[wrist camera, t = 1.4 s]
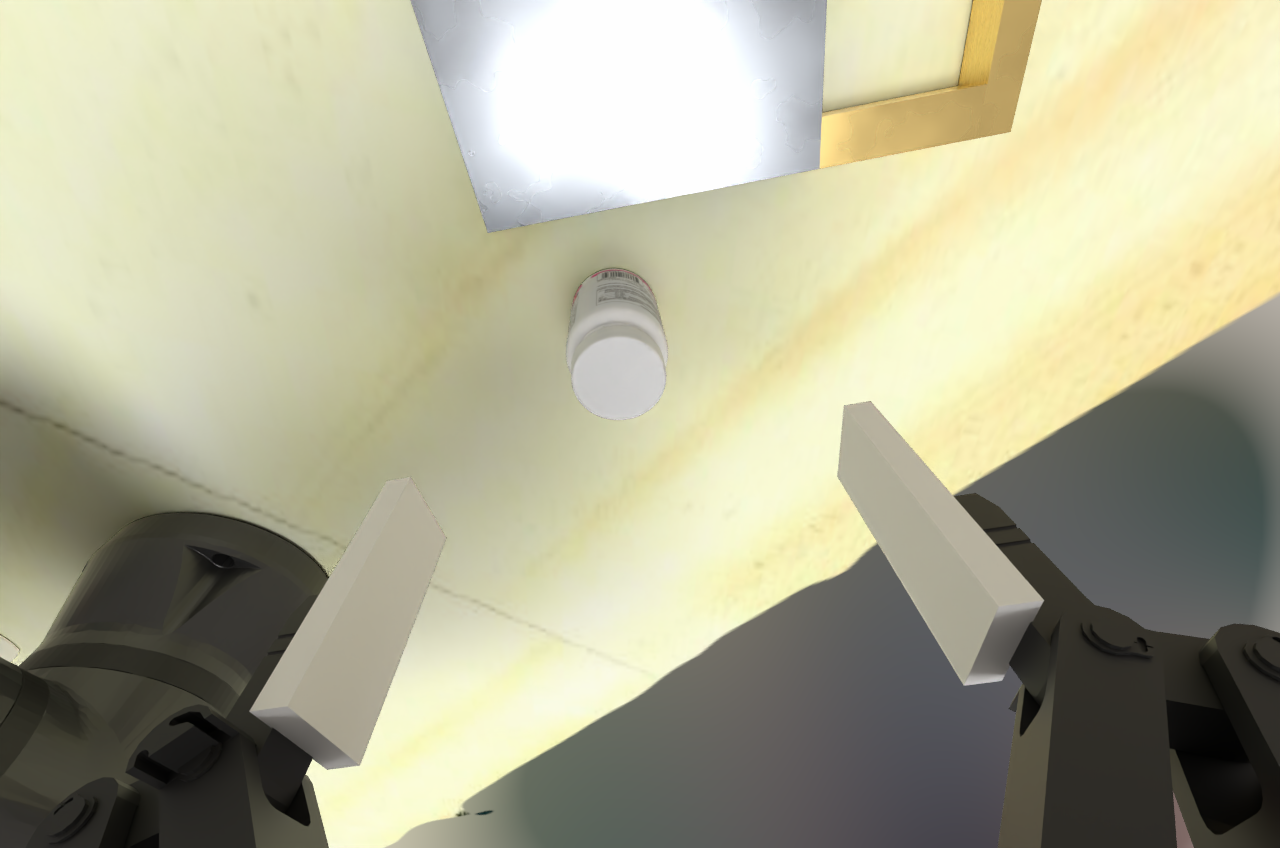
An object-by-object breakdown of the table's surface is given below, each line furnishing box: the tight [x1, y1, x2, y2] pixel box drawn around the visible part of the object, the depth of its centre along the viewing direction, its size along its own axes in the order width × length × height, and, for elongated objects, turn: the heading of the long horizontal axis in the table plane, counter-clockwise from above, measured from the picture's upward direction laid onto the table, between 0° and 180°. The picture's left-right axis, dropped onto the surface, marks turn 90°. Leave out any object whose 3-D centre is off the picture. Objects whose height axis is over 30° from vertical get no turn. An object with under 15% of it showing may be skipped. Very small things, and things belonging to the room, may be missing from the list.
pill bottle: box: [566, 268, 668, 420], centre depth 23 cm, size 5×5×8 cm
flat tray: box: [411, 0, 1042, 233], centre depth 19 cm, size 24×11×2 cm, turn 99°
